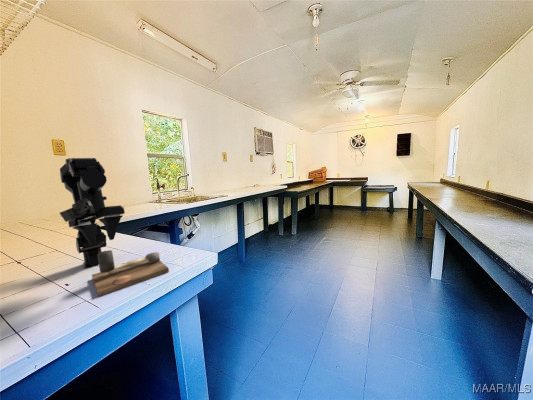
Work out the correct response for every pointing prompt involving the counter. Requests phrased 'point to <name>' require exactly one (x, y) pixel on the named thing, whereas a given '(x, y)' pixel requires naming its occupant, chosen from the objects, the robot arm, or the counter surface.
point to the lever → (108, 263)
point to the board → (127, 277)
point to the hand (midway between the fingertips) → (102, 242)
